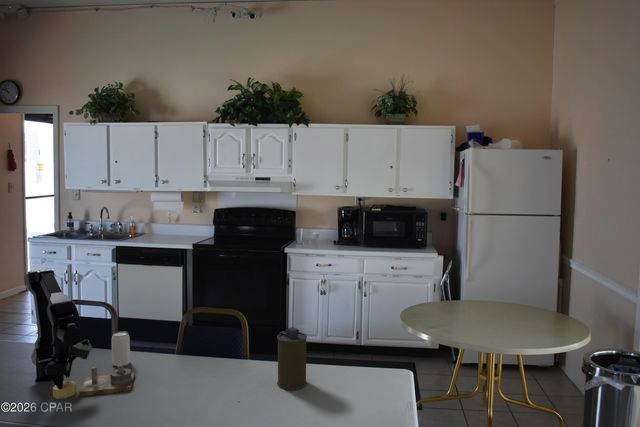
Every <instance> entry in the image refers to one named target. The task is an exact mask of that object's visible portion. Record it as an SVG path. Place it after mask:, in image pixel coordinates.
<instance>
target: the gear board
mask: <svg viewBox="0 0 640 427" xmlns="http://www.w3.org/2000/svg"><path fill="white" fill-rule="evenodd" d="M135 375H136V373H135V372H132V369H130V368H124V366H123V364H120V365H118V366H117V368H116V369H114V370H113V371H111V372H110V374H106V375H105V374H104V375H98V367H97V366H93V367H91V376H87V377H85V380H84V381H83V384H82V386H80V389H79V391H78V397H86V396H87V397H88V396H95V394H97V395H103V394H104V393H106V394H113V393H114V392H116V393H123V392H124V393H125V392H131V390H132V388H133V384H134V380H135ZM114 394H115V393H114Z"/></svg>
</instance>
